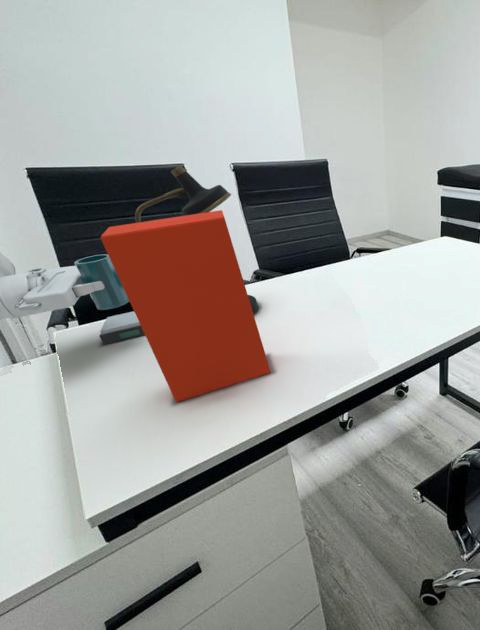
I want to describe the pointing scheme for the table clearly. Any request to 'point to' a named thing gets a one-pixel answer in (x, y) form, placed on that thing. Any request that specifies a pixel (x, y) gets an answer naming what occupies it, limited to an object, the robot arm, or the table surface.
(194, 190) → the lamp
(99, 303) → the cup
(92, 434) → the table surface
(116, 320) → the scale
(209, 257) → the file binder
